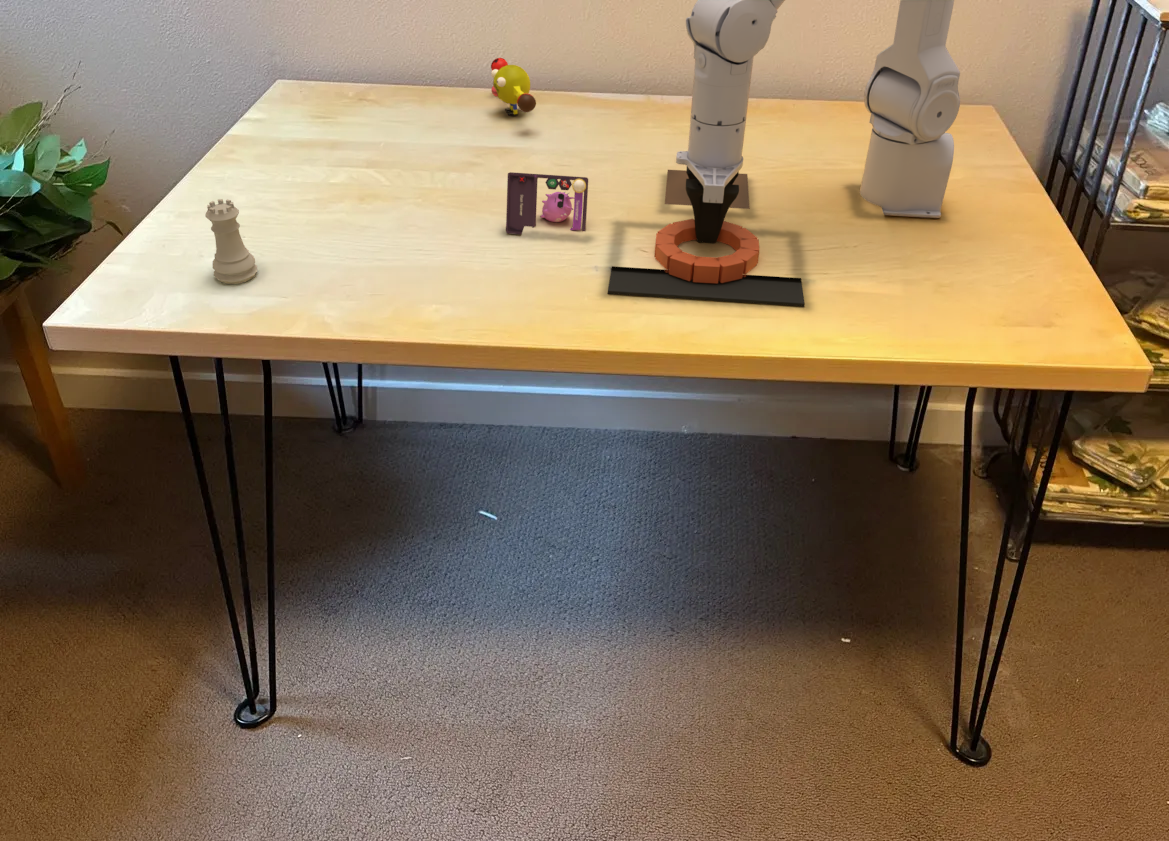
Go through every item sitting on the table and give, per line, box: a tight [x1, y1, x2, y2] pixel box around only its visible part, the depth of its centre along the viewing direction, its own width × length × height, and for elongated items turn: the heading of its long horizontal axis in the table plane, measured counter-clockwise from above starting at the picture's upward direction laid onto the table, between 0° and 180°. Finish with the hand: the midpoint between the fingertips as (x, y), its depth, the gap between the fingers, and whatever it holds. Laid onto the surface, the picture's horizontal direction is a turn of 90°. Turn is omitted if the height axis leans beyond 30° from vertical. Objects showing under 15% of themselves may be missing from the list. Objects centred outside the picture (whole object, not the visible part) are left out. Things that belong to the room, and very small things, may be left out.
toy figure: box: [490, 57, 537, 117], centre depth 138 cm, size 18×6×7 cm, turn 17°
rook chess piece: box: [205, 198, 258, 285], centre depth 100 cm, size 4×4×8 cm
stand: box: [664, 169, 751, 210], centre depth 118 cm, size 10×10×5 cm
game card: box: [505, 171, 589, 235], centre depth 111 cm, size 7×5×9 cm
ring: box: [654, 218, 760, 284], centre depth 105 cm, size 11×11×2 cm
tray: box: [607, 265, 806, 308], centre depth 106 cm, size 20×16×1 cm
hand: (706, 235), depth 109 cm, fingers closed on ring, 2 cm apart
